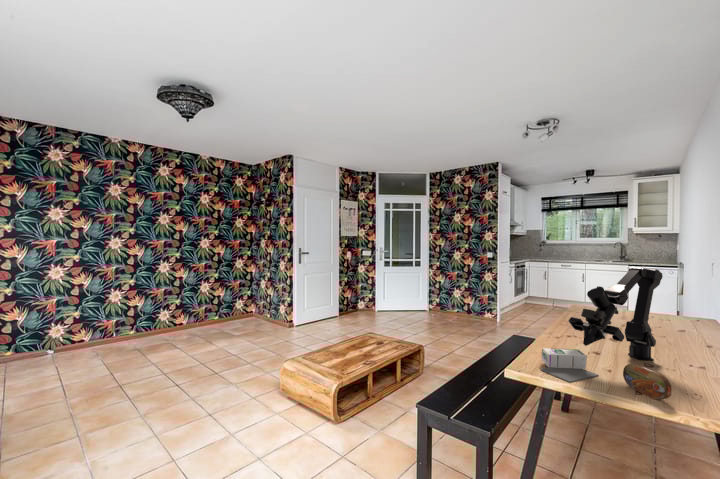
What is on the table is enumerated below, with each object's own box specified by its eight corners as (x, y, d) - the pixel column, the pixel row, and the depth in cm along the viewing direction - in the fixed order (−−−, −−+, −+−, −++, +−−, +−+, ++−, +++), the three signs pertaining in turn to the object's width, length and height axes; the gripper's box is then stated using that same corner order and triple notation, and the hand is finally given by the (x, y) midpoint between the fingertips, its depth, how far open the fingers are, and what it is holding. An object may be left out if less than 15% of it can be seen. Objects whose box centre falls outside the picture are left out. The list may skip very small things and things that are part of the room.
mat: (568, 364, 135) (568, 363, 135) (598, 375, 124) (598, 374, 124) (540, 370, 129) (540, 369, 129) (569, 382, 118) (569, 381, 118)
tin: (622, 383, 117) (622, 360, 117) (630, 383, 117) (630, 360, 117) (664, 405, 102) (664, 378, 102) (673, 404, 102) (673, 377, 102)
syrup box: (587, 355, 128) (547, 353, 130) (586, 369, 129) (547, 367, 131) (579, 349, 134) (541, 347, 136) (578, 363, 134) (541, 360, 136)
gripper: (571, 297, 140) (553, 325, 136) (619, 306, 123) (600, 338, 119) (583, 314, 143) (565, 342, 139) (632, 325, 126) (613, 357, 121)
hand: (584, 344), depth 129 cm, fingers closed
